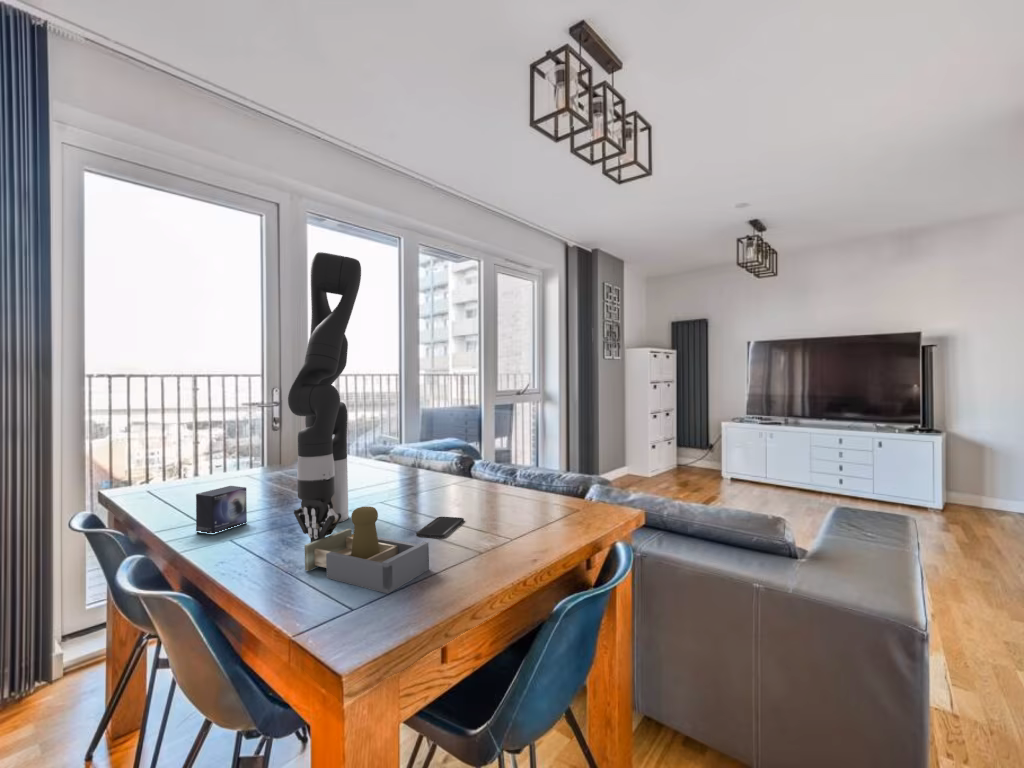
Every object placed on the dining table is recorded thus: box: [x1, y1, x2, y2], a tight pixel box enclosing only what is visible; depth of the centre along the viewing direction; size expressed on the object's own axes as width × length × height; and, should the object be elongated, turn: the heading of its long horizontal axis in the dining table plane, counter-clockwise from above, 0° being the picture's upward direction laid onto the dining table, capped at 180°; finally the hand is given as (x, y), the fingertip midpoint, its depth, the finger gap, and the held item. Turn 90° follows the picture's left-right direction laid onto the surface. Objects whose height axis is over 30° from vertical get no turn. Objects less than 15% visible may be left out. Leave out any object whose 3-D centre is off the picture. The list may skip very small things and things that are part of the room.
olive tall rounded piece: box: [350, 506, 380, 559], centre depth 96 cm, size 6×6×11 cm
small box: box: [195, 485, 248, 533], centre depth 126 cm, size 11×6×10 cm, turn 161°
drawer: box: [304, 528, 398, 572], centre depth 97 cm, size 16×12×5 cm
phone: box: [415, 516, 465, 539], centre depth 123 cm, size 8×1×15 cm
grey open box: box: [326, 536, 430, 594], centre depth 94 cm, size 16×12×6 cm
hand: (318, 554), depth 102 cm, fingers closed
